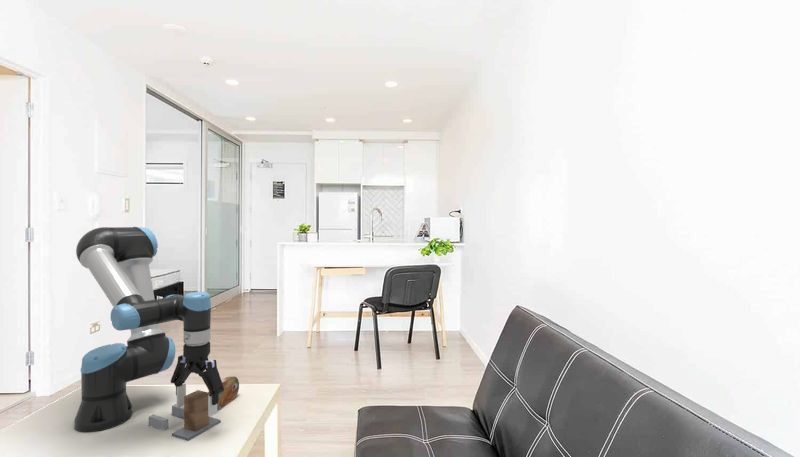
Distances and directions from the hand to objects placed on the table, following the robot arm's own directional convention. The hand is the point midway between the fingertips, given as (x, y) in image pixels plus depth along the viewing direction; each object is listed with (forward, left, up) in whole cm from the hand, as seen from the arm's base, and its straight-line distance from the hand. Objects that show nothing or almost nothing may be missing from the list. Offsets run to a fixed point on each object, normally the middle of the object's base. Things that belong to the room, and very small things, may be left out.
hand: (196, 410), depth 124 cm
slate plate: (0, 0, -6) cm, 6 cm away
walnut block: (0, 0, -5) cm, 5 cm away
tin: (-6, +16, -6) cm, 18 cm away
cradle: (-12, 0, -6) cm, 13 cm away
